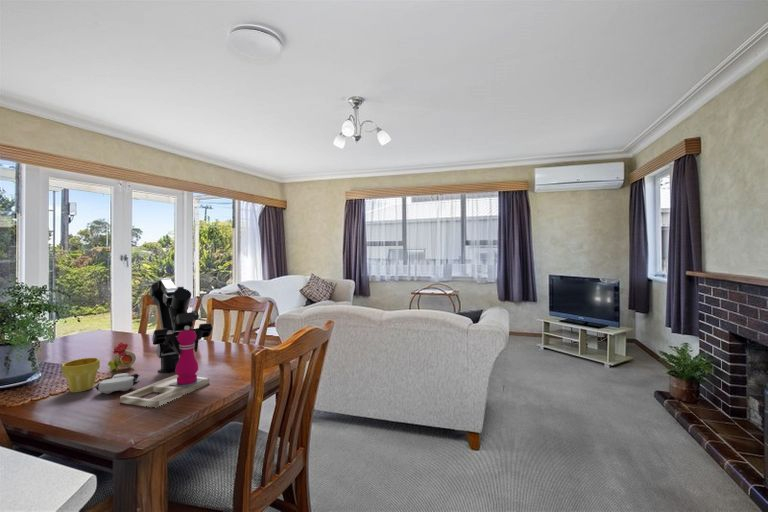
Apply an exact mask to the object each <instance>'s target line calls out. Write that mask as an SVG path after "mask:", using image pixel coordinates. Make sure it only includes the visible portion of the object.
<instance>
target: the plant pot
mask: <svg viewBox="0 0 768 512" xmlns="http://www.w3.org/2000/svg"><path fill="white" fill-rule="evenodd" d="M100 362H101V361H100V358H98V357H83V358H77V359H73V360H70V361H66V362H64V363H63V364H62V365H61V372H62V373H61V374H62V376H64V377H65V380H66V383H67V386H68V389H69V392H70V393H82V392H85V391H89V390H91V389H93V386H95V383H96V379H97V373H98V371H99V369H100V364H101V363H100Z"/></svg>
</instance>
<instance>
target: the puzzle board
mask: <svg viewBox="0 0 768 512" xmlns="http://www.w3.org/2000/svg"><path fill="white" fill-rule="evenodd" d="M177 377H178V375H177V374H175V375H172V376H169V377H167V378H164V379H161V380H158V381H157V382H154V383H151V384H149V385H146V386H143V387H141V388H139V389H136V390H133V391H130V392H129V393H125V394H123V395H121V396H120V397H119V399H120V402H119V403H122V404H127V405H133V406H140V407H146V406H147V407H146V408H152V407H155V408H154V409H157V407H158V408H160V407H162V406H164V405H166V404H168V403H167V402H169V403H171V402H173V401H175V400H177V399H179V398H181V397H184V396H186V395H188V394H190V393H192V392H194V391H196V389H197V390H198V389H201V388H202V387H205V386H207V385H210V377H203V376H202V377H201V376H197V380H196V381H195V382H193V383H190V384H178V383H177ZM158 392H159V393H160V394H158V395H156V396H153V397H151V398H144V397H143V396H146V395H149V394H151V393H158ZM187 393H188V394H187ZM185 394H186V395H185ZM183 395H184V396H183ZM176 398H177V399H176ZM174 399H175V400H174ZM172 400H173V401H172ZM170 401H171V402H170ZM163 404H164V405H163ZM161 405H162V406H161ZM159 406H160V407H159Z"/></svg>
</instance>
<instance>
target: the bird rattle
mask: <svg viewBox="0 0 768 512" xmlns="http://www.w3.org/2000/svg"><path fill="white" fill-rule="evenodd" d="M128 346H129V345H128V343H122V342H119V343H118V345H117V346H115V347H114V348H113V354H114V355H115V357H114V358H113V360H111V361H109V362H108V363H107V366H108V367H109V370H110V371H118V372H119V370H120V369H119V367H120V368H128V369H131V367H132V366H133V365H134V363H135V362H136V359H137V357H136V354H135V353H134V352H133V351H132V350H128V349H127V348H128Z"/></svg>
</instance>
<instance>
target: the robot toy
mask: <svg viewBox="0 0 768 512" xmlns="http://www.w3.org/2000/svg"><path fill="white" fill-rule="evenodd" d="M139 377H141V374H139V373H133V374H131V375H130V374H129V373H128V372H126V373H125V372H124V373H117V374H114V375H113V376H112V378H111V376H110V377H107V376H106V377H105V378H104V379H103V380H101V381H100V382H99V383H97V384H96V385H94V386H93V388H95V389H96V390H97V391H98V392H99V393H104V394H106V395H107V394H112V393H114V392H118V391H120V392H127V391H129V390H130V389H132V388H133V387H134V386H136V384H137V383H138V382H139ZM93 388H92V389H93Z"/></svg>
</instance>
